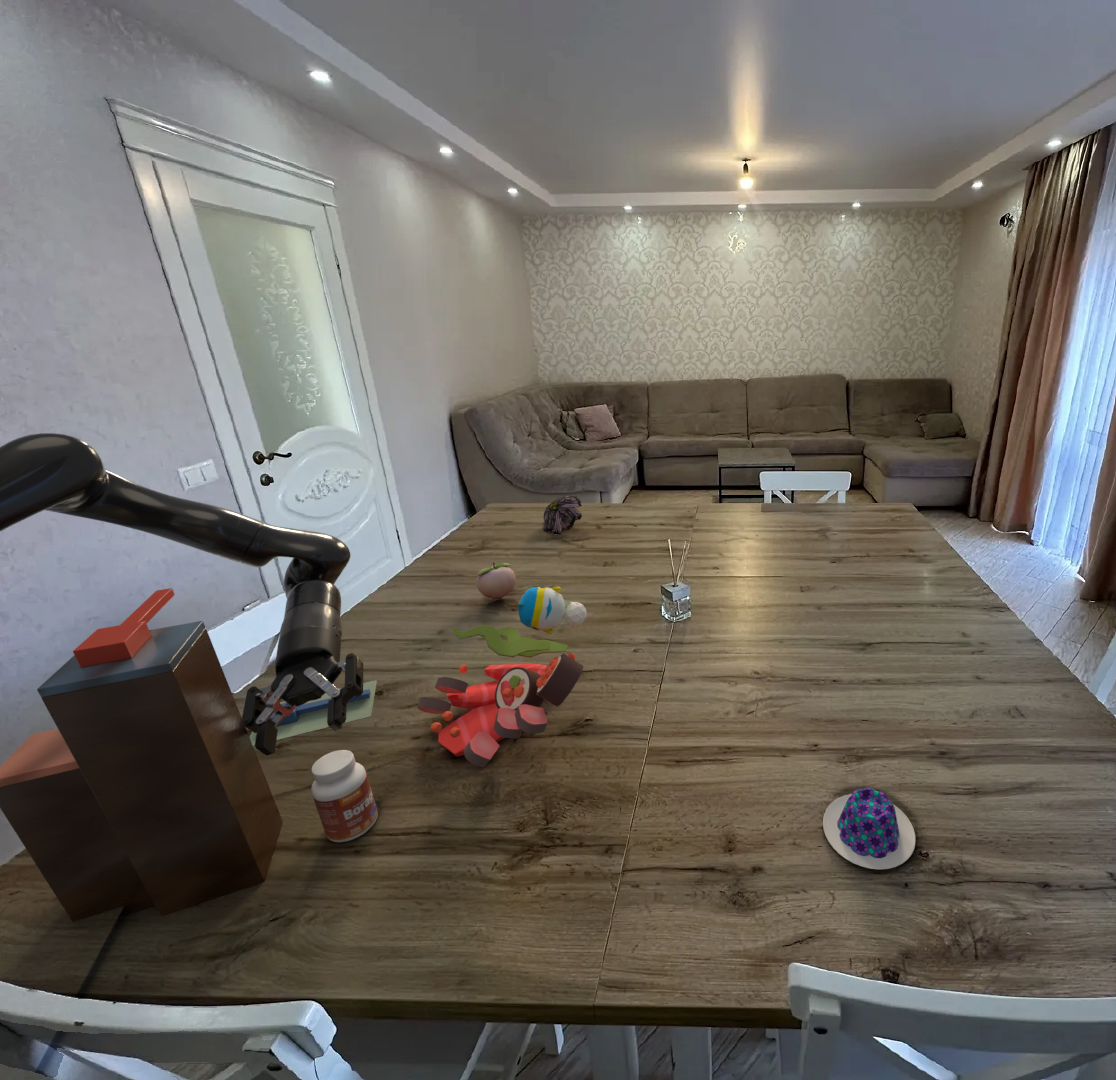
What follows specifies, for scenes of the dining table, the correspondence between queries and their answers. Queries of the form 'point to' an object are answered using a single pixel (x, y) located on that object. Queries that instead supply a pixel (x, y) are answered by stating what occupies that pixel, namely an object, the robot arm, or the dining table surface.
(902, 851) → the pudding
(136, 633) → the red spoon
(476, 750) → the sushi set
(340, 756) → the pill bottle
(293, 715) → the blue spatula
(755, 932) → the dining table surface
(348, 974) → the dining table surface
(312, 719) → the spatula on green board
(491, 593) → the decorative fruit
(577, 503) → the decorative flower
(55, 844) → the wooden stand
